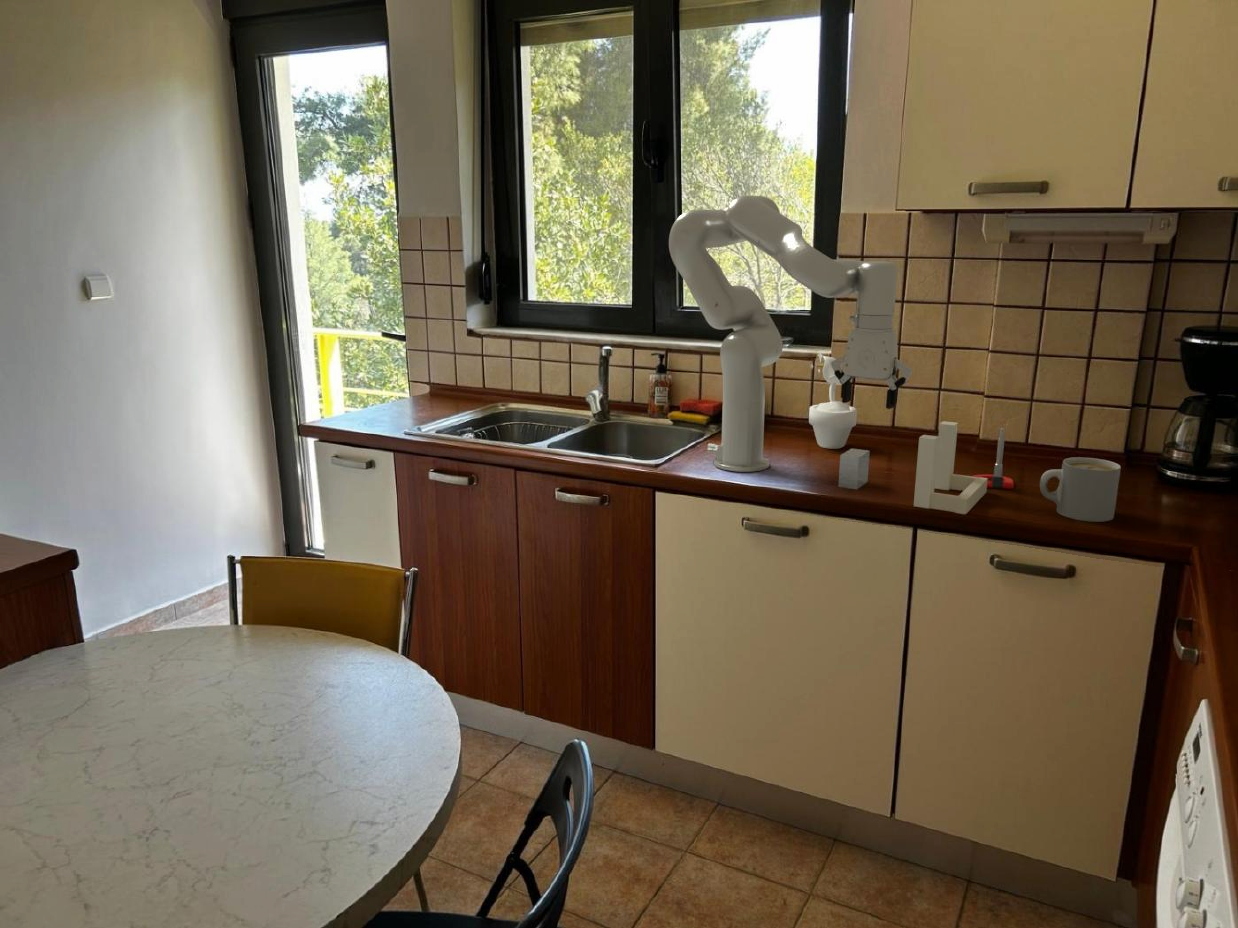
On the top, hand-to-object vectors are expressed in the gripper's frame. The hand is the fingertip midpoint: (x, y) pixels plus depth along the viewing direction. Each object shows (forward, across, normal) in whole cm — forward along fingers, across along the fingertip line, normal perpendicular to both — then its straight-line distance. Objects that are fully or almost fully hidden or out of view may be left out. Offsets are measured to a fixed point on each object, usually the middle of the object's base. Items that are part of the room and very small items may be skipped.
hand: (868, 404), depth 192 cm
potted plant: (+18, -20, +28) cm, 39 cm away
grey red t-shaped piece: (+18, +22, +19) cm, 34 cm away
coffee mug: (+17, +41, +7) cm, 45 cm away
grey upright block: (+18, -2, 0) cm, 18 cm away
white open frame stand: (+17, +19, +1) cm, 25 cm away
